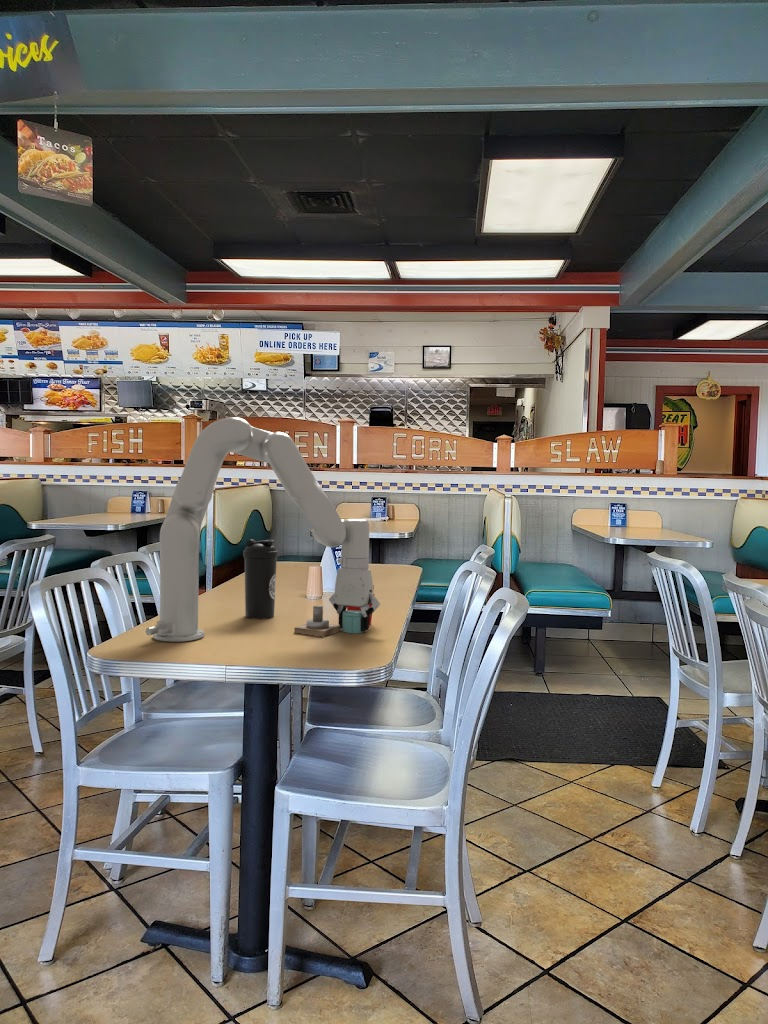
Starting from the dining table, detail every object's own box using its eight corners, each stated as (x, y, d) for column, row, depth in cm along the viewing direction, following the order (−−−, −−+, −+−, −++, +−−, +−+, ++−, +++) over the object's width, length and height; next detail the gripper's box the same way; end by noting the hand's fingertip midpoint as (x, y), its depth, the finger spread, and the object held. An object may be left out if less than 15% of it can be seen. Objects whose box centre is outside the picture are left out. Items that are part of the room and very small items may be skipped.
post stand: (322, 637, 186) (323, 610, 186) (294, 633, 190) (294, 607, 190) (340, 631, 194) (340, 605, 194) (312, 627, 198) (313, 602, 198)
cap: (358, 634, 190) (358, 615, 190) (338, 631, 193) (338, 612, 193) (369, 630, 196) (369, 611, 196) (349, 627, 199) (349, 609, 198)
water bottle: (273, 619, 207) (274, 541, 206) (239, 619, 208) (240, 540, 207) (279, 613, 217) (280, 538, 217) (246, 612, 218) (247, 538, 217)
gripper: (320, 563, 194) (319, 628, 195) (376, 567, 186) (375, 635, 187) (334, 560, 201) (333, 623, 202) (389, 564, 193) (387, 630, 194)
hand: (353, 628), depth 194 cm, fingers closed on cap, 6 cm apart
